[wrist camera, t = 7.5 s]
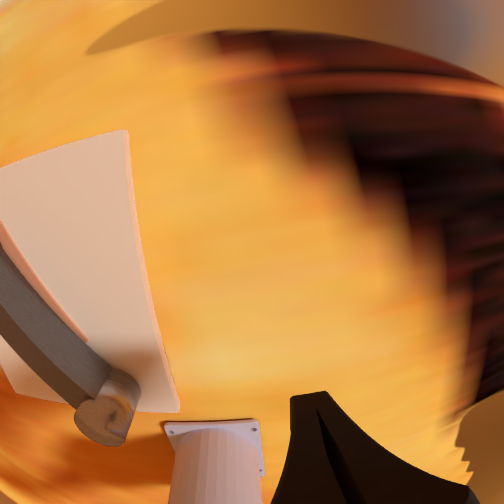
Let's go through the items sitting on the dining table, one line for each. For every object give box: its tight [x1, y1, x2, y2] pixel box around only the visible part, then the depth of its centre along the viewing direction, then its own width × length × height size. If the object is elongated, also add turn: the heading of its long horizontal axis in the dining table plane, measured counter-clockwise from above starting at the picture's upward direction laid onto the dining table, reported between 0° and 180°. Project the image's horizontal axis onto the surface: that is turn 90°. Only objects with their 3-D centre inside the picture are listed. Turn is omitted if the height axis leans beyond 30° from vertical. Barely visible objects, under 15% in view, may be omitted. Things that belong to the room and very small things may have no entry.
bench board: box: [0, 129, 181, 413], centre depth 17 cm, size 20×18×1 cm
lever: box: [0, 242, 141, 447], centre depth 15 cm, size 17×4×5 cm, turn 42°
